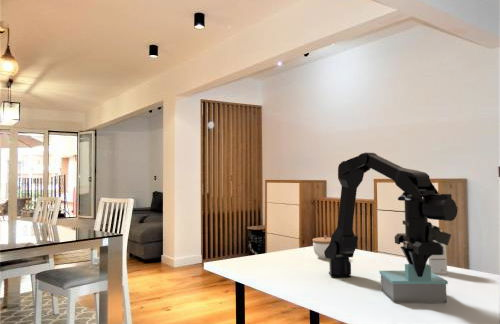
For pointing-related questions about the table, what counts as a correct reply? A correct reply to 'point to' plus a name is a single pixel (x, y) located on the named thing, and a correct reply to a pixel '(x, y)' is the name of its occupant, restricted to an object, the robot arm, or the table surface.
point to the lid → (413, 276)
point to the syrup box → (438, 262)
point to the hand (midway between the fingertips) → (417, 275)
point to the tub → (414, 292)
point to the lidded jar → (321, 246)
